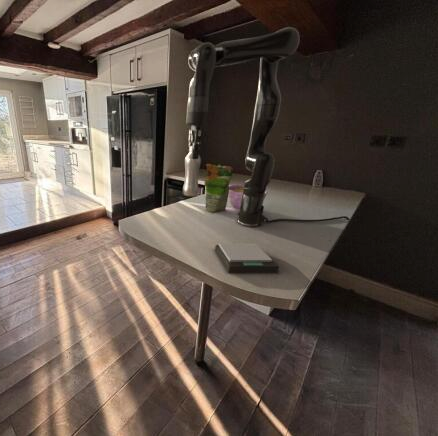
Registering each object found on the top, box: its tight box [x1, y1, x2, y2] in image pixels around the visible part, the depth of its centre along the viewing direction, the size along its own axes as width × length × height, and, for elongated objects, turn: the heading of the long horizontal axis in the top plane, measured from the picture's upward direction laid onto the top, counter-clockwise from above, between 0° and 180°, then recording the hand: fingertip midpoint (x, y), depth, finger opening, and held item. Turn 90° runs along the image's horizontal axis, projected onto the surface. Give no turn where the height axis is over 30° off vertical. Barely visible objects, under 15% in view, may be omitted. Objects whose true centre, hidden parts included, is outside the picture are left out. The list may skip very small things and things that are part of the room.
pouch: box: [204, 163, 234, 213], centre depth 123 cm, size 11×12×25 cm
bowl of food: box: [228, 184, 268, 212], centre depth 127 cm, size 20×20×12 cm
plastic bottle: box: [182, 146, 202, 197], centre depth 94 cm, size 6×7×20 cm
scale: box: [214, 243, 280, 274], centre depth 80 cm, size 16×14×3 cm
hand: (193, 157), depth 91 cm, fingers closed on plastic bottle, 6 cm apart
